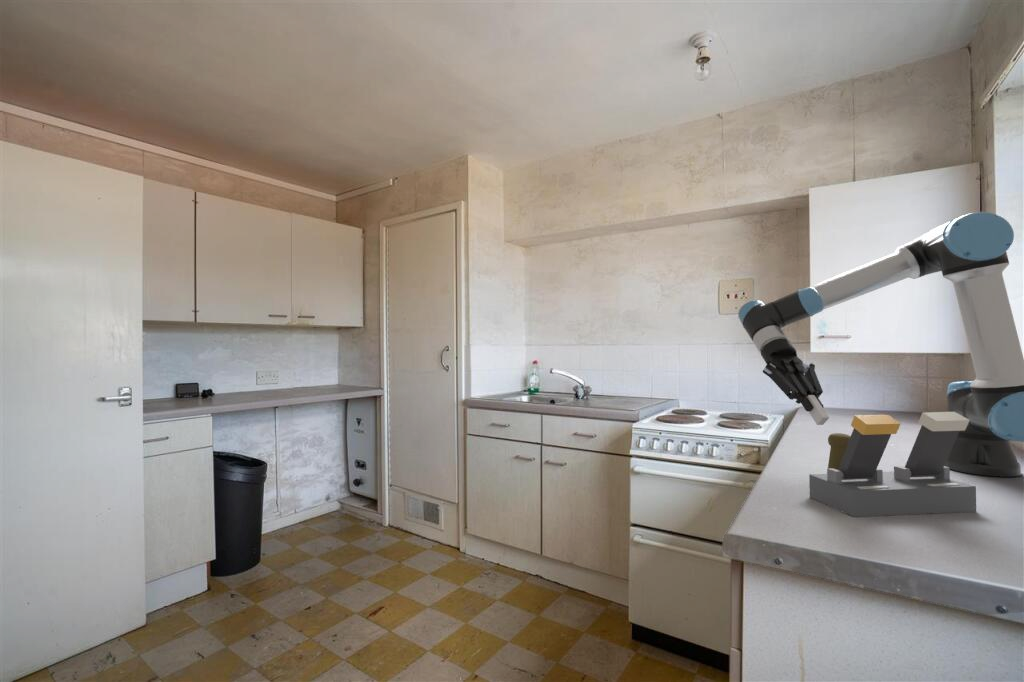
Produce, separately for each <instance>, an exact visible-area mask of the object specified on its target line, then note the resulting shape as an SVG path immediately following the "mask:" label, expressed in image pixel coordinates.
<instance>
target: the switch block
mask: <svg viewBox="0 0 1024 682" xmlns="http://www.w3.org/2000/svg"><path fill="white" fill-rule="evenodd" d="M950 470H951V469H950V468H949V467H945V466H944V467H943V470H942V472H941V475H940V476H939V477H911V478H910V469H908V468H905V466H900V465H894V466H893V471H891V470H890V471H883V469H880V468H878V467H877V469H876V471H875V474H874V478H873V479H856V480H842V475H841V471H839V470H836V469H833V468H828V467H827V469H826V473H813V474H812V473H811V474H809V475H808V476H809V477H808V478H809V482H808V483H809V498H811V499H813V500H815V501H818V502H819V501H820V502H819V503H821V502H822V504H824V505H826V504H827V505H826V506H828V505H829V507H830V506H831V507H830V508H833V509H835V508H836V509H835V510H837V509H838V510H837V511H839V510H840V512H841V511H843V512H842V513H844V512H845V513H844V514H846V513H847V514H846V515H848V514H849V516H850V515H851V517H853V516H863V517H882V516H883V517H885V515H886V516H908V514H910V515H925V514H926V515H927V513H928V515H930V514H929V513H933V514H949V513H950V514H951V513H952V514H953V513H955V512H956V513H973V512H974V513H976V512H977V486H976V485H973V484H968V483H966V482H962V481H958V480H954V479H951V476H950V475H951V474H950V473H951V472H950Z"/></svg>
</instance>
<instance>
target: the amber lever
mask: <svg viewBox="0 0 1024 682" xmlns="http://www.w3.org/2000/svg"><path fill="white" fill-rule="evenodd" d="M850 426H851V427H852V428H853V430H852V433H851V435H850V436H851V437H850V440H849V442H848V445H847V447H846V450H845V452H844V455H843V458H842V460H841V463H840V465H839V468H838V470H839V471H841V475H842V480H856V479H873V478H874V474H875V471H876V469H877V468H878V466H879V464H880V462H881V459H882V457H883V456H884V455H883V454H884V452H885V450H886V448H887V445H888V443H889V441H890V438H891V436H892V435H896V434H897V433H898V431H899V428H900V427H901V423H900V422H899V421H897V420H896V419H895V418H893V417H892V416H890V415H889V414H888V413H887V414H854V416H853V418H852V421H851V423H850Z"/></svg>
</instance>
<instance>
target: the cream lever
mask: <svg viewBox="0 0 1024 682" xmlns="http://www.w3.org/2000/svg"><path fill="white" fill-rule="evenodd" d="M969 421H970V420H969V419H967V418H965V417H963V416H961V415H959V414H958V413H956V412H948V411H931V412H930V411H929V412H924V411H922V413H921V415H920V418H919V420H918V424H920V425H921V427H920V429H919V431H918V433H917V436H916V439H915V442H914V443H913V445H912V449H911V450H910V453H909V455H908V458H907V461H906V463H905V465H904V468H908V469H910V478H911V477H939V476H940V475H941V472H942V470H943V467H944V465H945V463H946V461H947V458H948V456H949V454H950V452H951V450H952V447H953V445H954V443H955V441H956V438H957V436H958V434H959V432H960V431H965V429H966V427H967V425H968V423H969Z"/></svg>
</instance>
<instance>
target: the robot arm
mask: <svg viewBox="0 0 1024 682" xmlns="http://www.w3.org/2000/svg"><path fill="white" fill-rule="evenodd" d="M1014 233H1015V232H1014V229H1013V227H1012V225H1011V224H1010V222H1009V221H1008V219H1005V218H1004V217H1002V216H1001V215H998V214H995V213H992V212H988V211H976V212H971V213H967V214H963V215H961V216H960V215H959V216H957V217H955V218H953V219H951V220H950V221H948V222H946V223H944V224H942V225H939V226H937V227H935V228H933V229H931V230H929V232H927V233H924V234H923V235H921V236H920V237H917V238H915V239H914V240H913V241H910V242H908V243H905V244H904V245H903V244H902V245H901V246H898V247H897V248H896V250H895V252H894V253H891V254H888V255H887V256H883V257H881V258H879V259H876V260H873V261H871V262H869V263H866V264H864V265H861V266H859V267H856V268H854V269H850V270H849V271H846V272H843V273H841V274H838V275H836V276H834V277H831V278H829V279H826V280H824V281H821V282H819V283H816V284H814V285H811V286H807V287H805V288H802V289H801V288H800V289H798V290H796V291H794V292H791V293H790V294H787V295H785V296H782V297H780V298H778V299H776V300H774V301H770V302H768V303H767V302H766V304H765V303H764V302H763V301H762V300H749V301H747V302H746V303H744V304H743V305H742V306H740V308H739V310H738V312H737V313H738V314H737V315H738V317H737V318H738V319H739V321H740V323H741V324H742V327H743V328H744V330H745V332H746V333H747V334H748V336H749V338H750V339H751V341H752V342H753V344H754V346H755V347H756V349H757V351H758V352H759V353H760V355H761V357H762V359H763V360H764V362H765V364H766V365H765V367H764V369H763V370H762V373H763V374H765V376H767V377H769V378H770V379H771V381H772V382H774V384H775V385H776V386H777V387H778V388H779V389H780V391H782V392H783V394H784V395H785V396H786V397H787V398H788V399H789V400H792V401H793V400H796V401H795V403H796V404H801V405H802V407H803V409H804V411H806V412H808V413H809V414H810V417H811V418H812V419H813V421H814V422H815V424H816V425H817V426H821V425H822V426H823V425H825V423H826V422H827V421H828V420H829V419H830V416H829V415H828V413H827V412H826V411H825V409H824V405H823V403H822V401H821V400H820V399H819V398H820V396H821V395H822V394H823V393H824V391H823V388H822V385H821V383H820V381H819V379H818V376H817V373H816V370H815V369H816V365H815V363H809V364H807V363H804V362H803V360H802V359H801V358H800V357H799V356H798V353H797V349H796V348H795V346H794V345H793V344H792V342H791V341H790V340H789V337H788V336H787V335H786V334H785V332H784V330H783V329H782V328H785V327H786V326H789V325H792V324H794V323H795V324H796V323H797V322H800V321H803V320H805V319H808V318H810V317H813V316H815V315H817V314H819V313H821V312H823V311H824V310H826V309H829V308H831V307H834V306H837V305H839V304H842V303H845V302H847V301H850V300H853V299H855V298H858V297H861V296H864V295H865V294H868V293H871V292H875V291H876V290H879V289H882V288H884V287H887V286H889V285H892V284H896V283H898V282H900V281H903V280H905V279H908V278H910V279H913V280H916V279H919V278H921V277H925V276H928V275H932V274H935V273H938V272H941V273H942V277H943V279H946V280H949V281H950V282H951V283H953V288H954V291H955V296H956V299H957V305H958V307H959V312H960V316H961V317H960V318H961V321H962V323H963V328H964V332H965V337H966V340H967V344H968V348H969V352H970V356H971V361H972V365H973V369H974V372H975V376H976V377H975V379H974V380H971V381H970V380H969V381H953V382H950V383H949V384H948V385H947V392H946V398H947V399H946V401H947V404H946V405H947V412H956V413H958V414H959V415H961V416H963V417H965V418H967V419H969V420H970V421H969V423H968V425H967V427H966V429H965V431H960V432H959V434H958V436H957V438H956V441H955V443H954V445H953V447H952V450H951V452H950V454H949V456H948V458H947V461H946V463H945V465H944V466H945V467H949V468H950V470H951V471H957V472H961V473H965V474H966V473H967V474H972V475H978V476H979V475H980V476H987V477H988V476H989V477H998V476H1000V477H999V478H1001V477H1003V478H1006V477H1007V478H1010V477H1011V478H1013V477H1014V476H1015V477H1019V475H1020V476H1021V475H1022V468H1021V464H1020V463H1019V461H1018V459H1017V455H1016V453H1015V451H1014V449H1013V446H1012V444H1011V442H1019V443H1024V354H1023V351H1022V346H1021V343H1020V339H1019V335H1018V332H1017V327H1016V323H1015V320H1014V319H1015V318H1014V314H1013V311H1012V307H1011V302H1010V298H1009V296H1008V291H1007V287H1006V283H1005V280H1004V276H1003V272H1004V271H1005V270H1006V268H1007V267H1008V266H1009V265H1010V262H1009V257H1008V253H1007V251H1008V250H1009V248H1011V246H1012V244H1013V243H1014V237H1015V234H1014ZM1015 477H1014V478H1015Z"/></svg>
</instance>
